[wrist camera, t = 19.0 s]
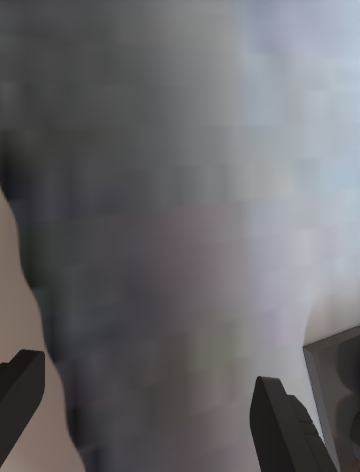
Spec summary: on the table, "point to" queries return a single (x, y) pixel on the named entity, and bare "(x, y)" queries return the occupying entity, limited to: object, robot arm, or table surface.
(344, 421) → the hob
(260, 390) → the robot arm
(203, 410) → the table surface
